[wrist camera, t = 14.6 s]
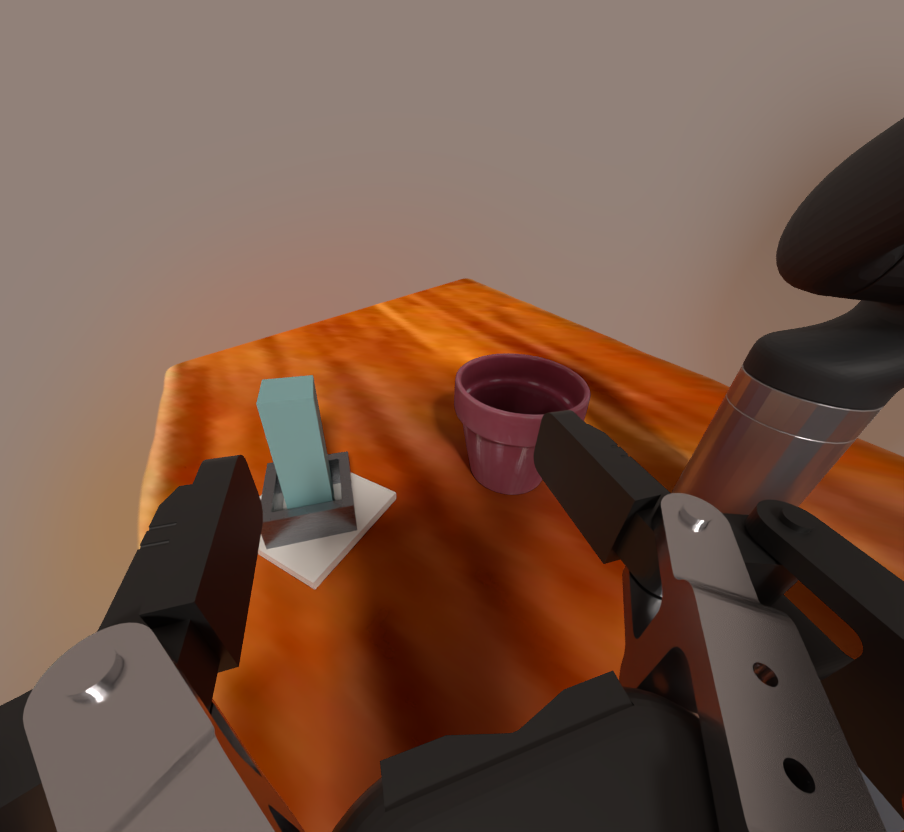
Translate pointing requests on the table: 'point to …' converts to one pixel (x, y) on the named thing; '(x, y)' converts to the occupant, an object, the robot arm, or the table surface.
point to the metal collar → (307, 509)
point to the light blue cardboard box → (884, 808)
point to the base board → (325, 553)
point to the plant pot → (512, 414)
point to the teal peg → (296, 439)
